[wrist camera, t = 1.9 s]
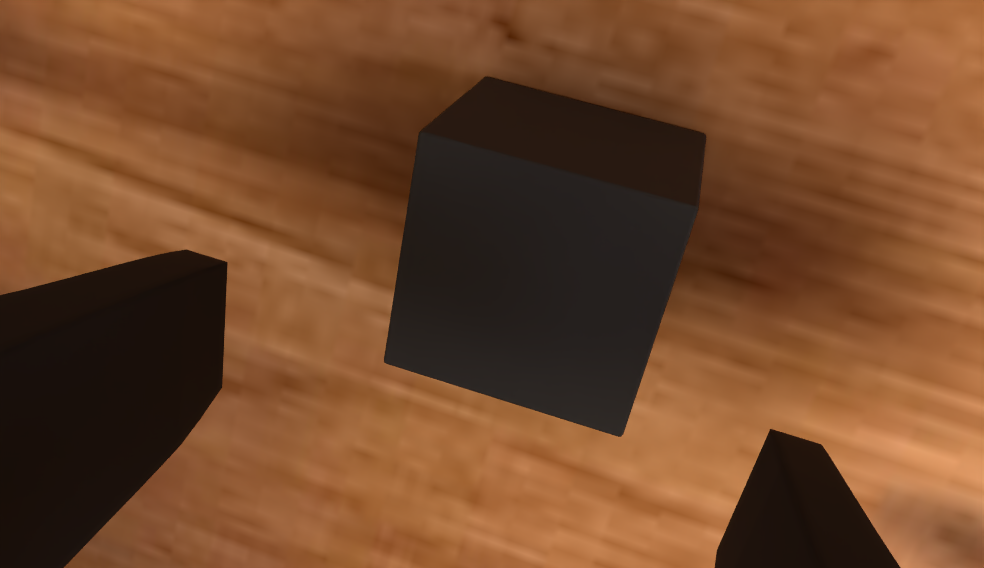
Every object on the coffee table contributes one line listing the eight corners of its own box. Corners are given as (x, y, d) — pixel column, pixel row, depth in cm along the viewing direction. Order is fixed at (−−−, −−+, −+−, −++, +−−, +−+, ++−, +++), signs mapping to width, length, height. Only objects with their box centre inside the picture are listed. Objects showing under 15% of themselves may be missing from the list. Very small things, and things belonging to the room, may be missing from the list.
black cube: (448, 271, 19) (382, 364, 15) (484, 75, 17) (418, 131, 13) (644, 328, 18) (622, 439, 15) (707, 133, 16) (699, 207, 12)
